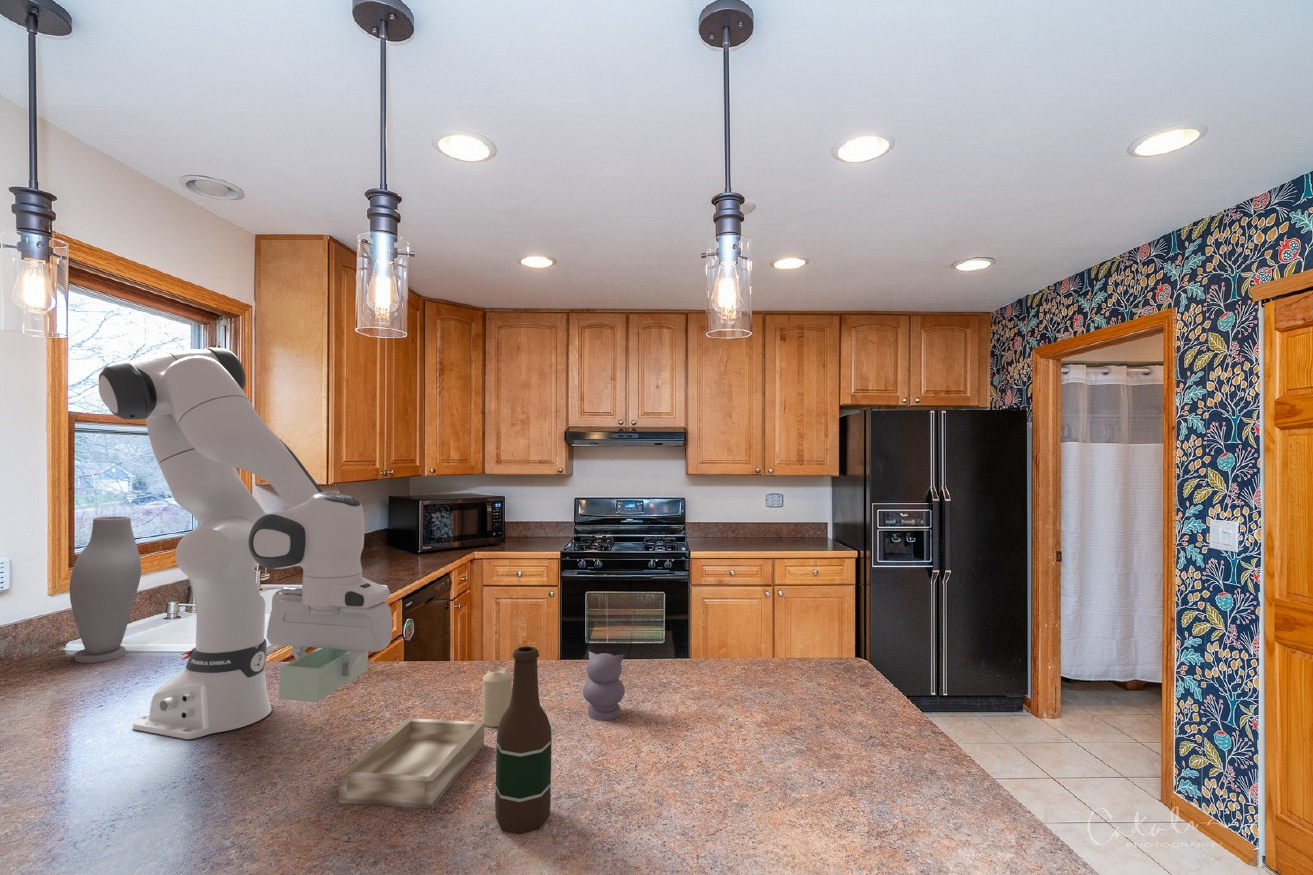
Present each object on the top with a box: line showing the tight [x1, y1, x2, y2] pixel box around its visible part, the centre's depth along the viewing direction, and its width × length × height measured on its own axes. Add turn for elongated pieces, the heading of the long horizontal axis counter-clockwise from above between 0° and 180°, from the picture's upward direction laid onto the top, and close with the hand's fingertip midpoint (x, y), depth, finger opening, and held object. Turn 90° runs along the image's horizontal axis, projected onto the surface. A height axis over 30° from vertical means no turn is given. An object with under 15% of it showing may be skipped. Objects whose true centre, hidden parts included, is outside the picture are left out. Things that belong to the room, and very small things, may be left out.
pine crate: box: [338, 717, 485, 810], centre depth 101 cm, size 14×20×4 cm
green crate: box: [278, 648, 369, 703], centre depth 103 cm, size 6×14×5 cm, turn 175°
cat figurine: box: [582, 650, 626, 722], centre depth 125 cm, size 9×8×12 cm
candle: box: [481, 667, 513, 728], centre depth 121 cm, size 6×6×10 cm
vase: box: [68, 515, 142, 664], centre depth 156 cm, size 13×13×35 cm
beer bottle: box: [494, 645, 553, 835], centre depth 89 cm, size 8×8×24 cm
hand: (327, 673), depth 103 cm, fingers closed on green crate, 6 cm apart
